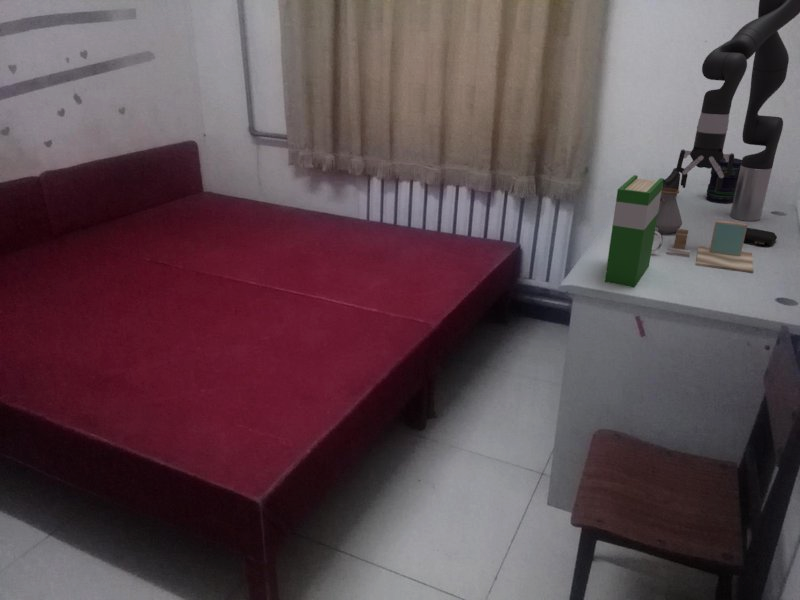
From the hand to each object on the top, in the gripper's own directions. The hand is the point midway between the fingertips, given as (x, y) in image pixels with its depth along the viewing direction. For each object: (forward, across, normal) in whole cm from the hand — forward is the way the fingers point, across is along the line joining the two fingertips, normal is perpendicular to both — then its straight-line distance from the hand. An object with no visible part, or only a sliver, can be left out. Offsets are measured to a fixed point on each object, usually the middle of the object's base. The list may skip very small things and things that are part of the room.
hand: (699, 189), depth 185 cm
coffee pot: (+18, +10, -10) cm, 22 cm away
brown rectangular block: (+18, +2, +4) cm, 18 cm away
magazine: (+17, +10, -49) cm, 53 cm away
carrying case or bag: (+18, -16, -16) cm, 28 cm away
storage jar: (+16, -8, -63) cm, 66 cm away
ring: (+18, +10, +11) cm, 23 cm away
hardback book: (+18, +14, +30) cm, 37 cm away
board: (+18, -10, +7) cm, 21 cm away
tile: (+17, -10, +3) cm, 20 cm away
